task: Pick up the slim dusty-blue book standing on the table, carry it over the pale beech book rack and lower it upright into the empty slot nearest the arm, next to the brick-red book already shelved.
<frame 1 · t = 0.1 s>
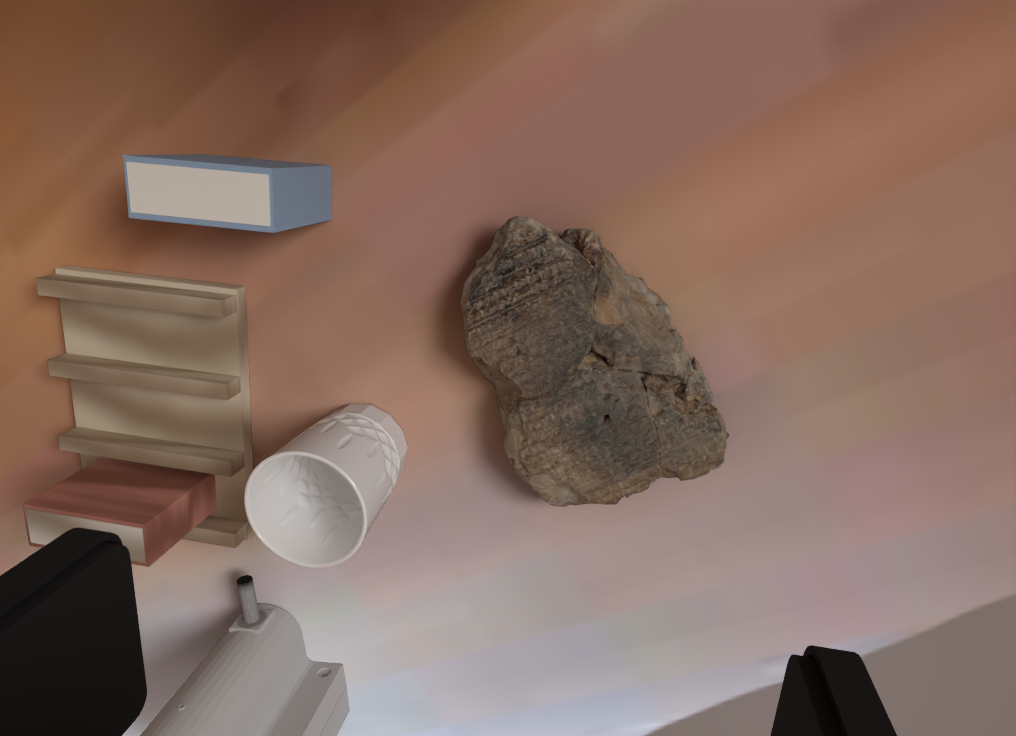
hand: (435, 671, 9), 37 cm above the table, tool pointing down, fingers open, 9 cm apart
grey machine model: (273, 634, 58), on the table
blue book: (268, 186, 46), on the table
white cup: (365, 443, 51), on the table
book rack: (165, 404, 53), on the table
clay tablet: (579, 351, 46), on the table
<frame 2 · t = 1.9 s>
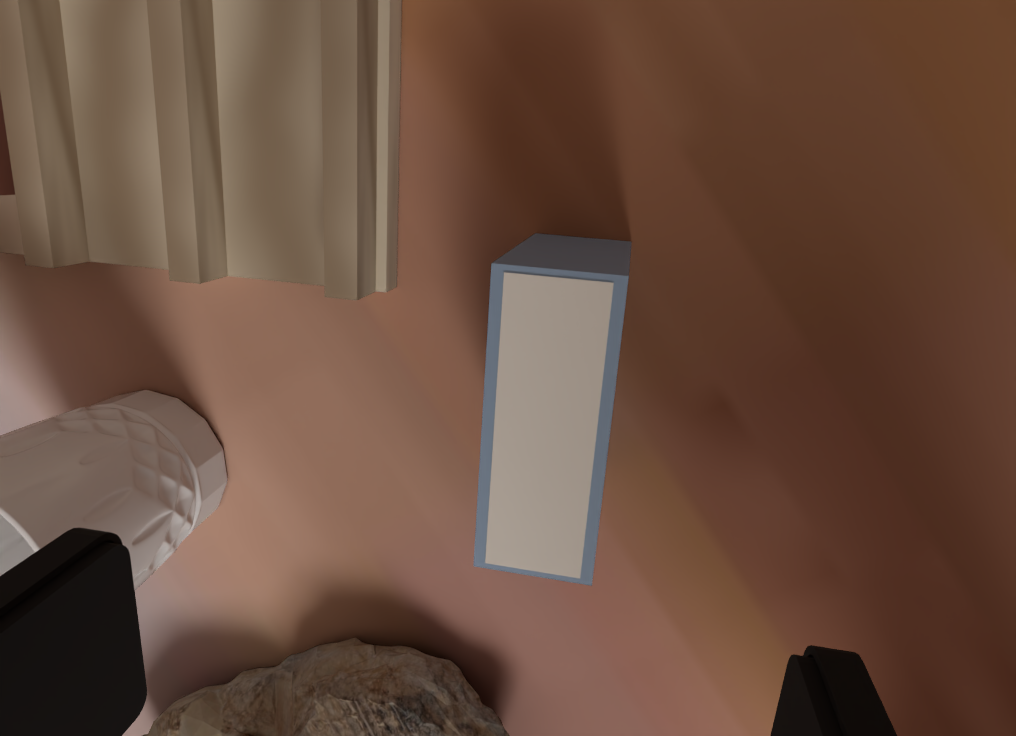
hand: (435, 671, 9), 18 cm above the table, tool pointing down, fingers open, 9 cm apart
blue book: (571, 355, 26), on the table
white cup: (163, 457, 31), on the table
book rack: (148, 79, 26), on the table
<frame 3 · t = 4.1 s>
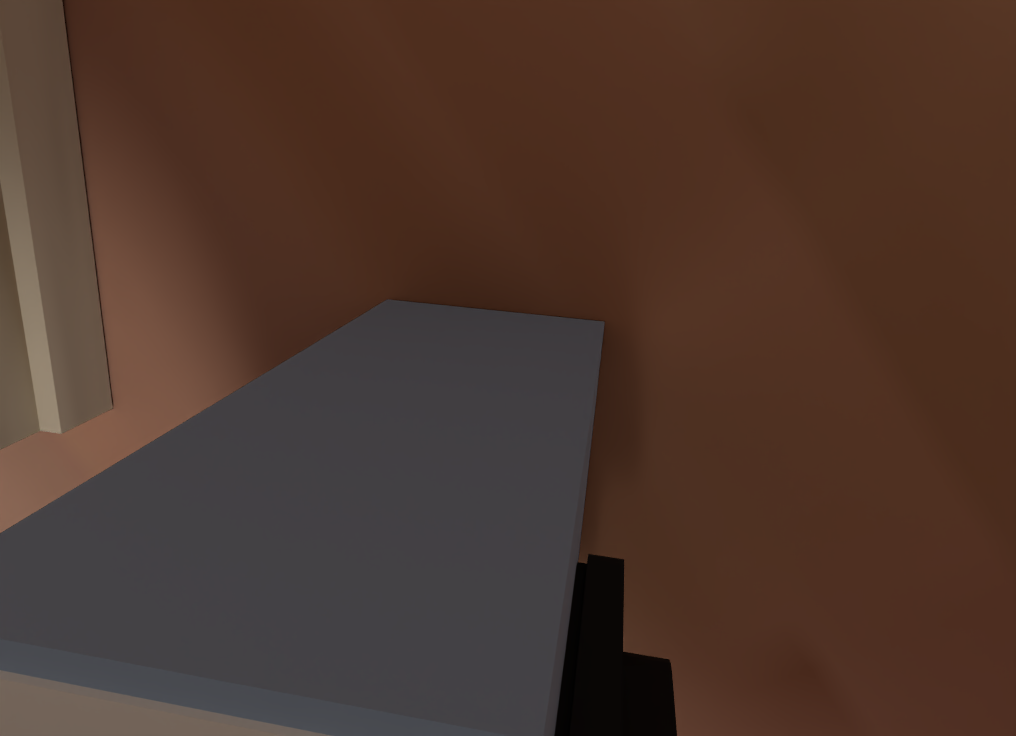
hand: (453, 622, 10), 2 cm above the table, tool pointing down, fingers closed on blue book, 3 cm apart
blue book: (479, 556, 12), on the table, touching gripper
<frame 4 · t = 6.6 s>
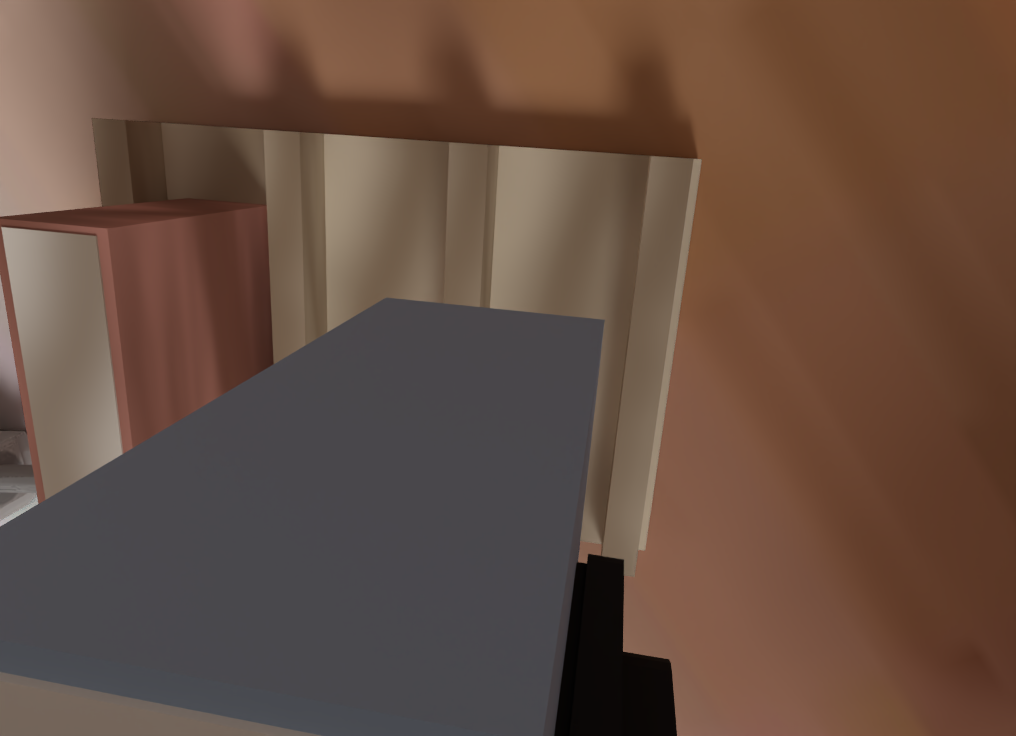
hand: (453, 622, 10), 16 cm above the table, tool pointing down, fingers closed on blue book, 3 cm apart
blue book: (478, 555, 12), point 14 cm above the table, touching gripper
book rack: (400, 333, 26), on the table
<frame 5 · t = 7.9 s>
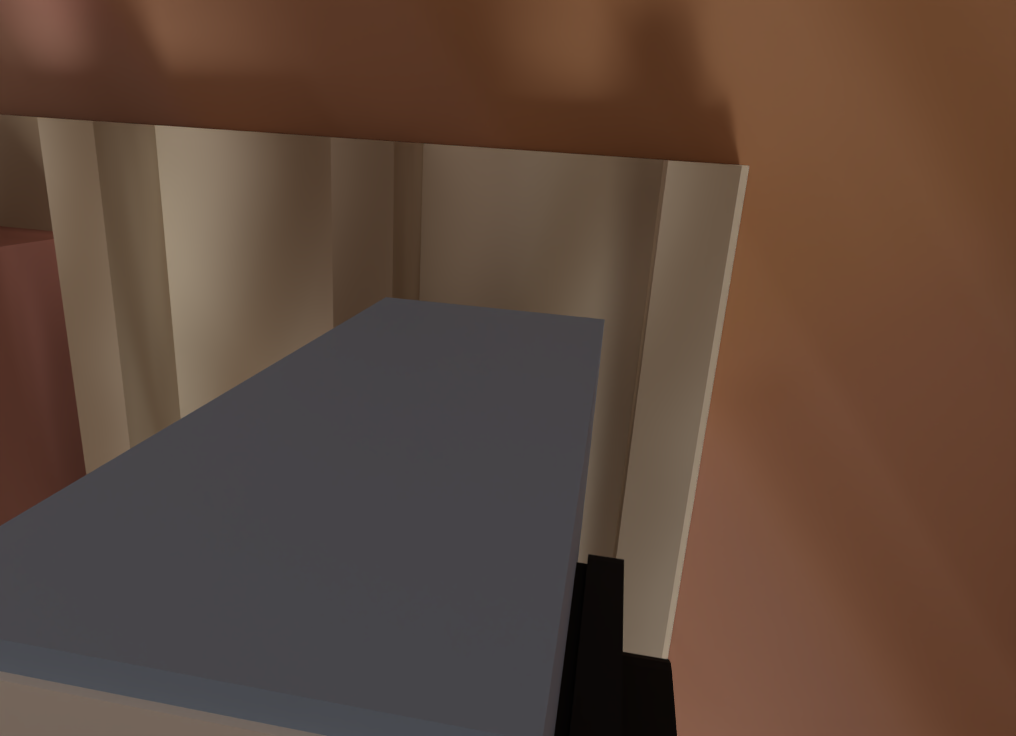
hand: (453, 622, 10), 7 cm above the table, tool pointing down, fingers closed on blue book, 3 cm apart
blue book: (478, 555, 12), point 5 cm above the table, touching gripper
book rack: (295, 419, 18), on the table
when the fingers open (4 cm above the table, at t = 9.2 s): blue book drops 1 cm, resting on book rack.
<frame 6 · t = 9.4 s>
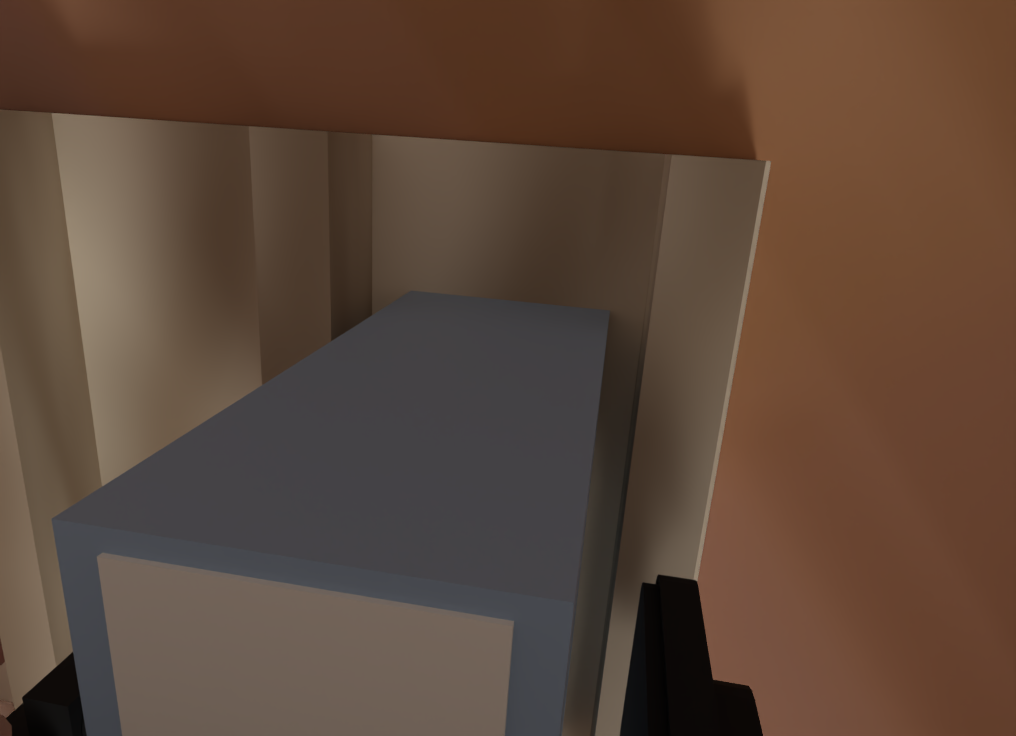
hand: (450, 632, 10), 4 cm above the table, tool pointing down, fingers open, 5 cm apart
blue book: (493, 527, 13), point 1 cm above the table, touching book rack
book rack: (235, 457, 15), on the table
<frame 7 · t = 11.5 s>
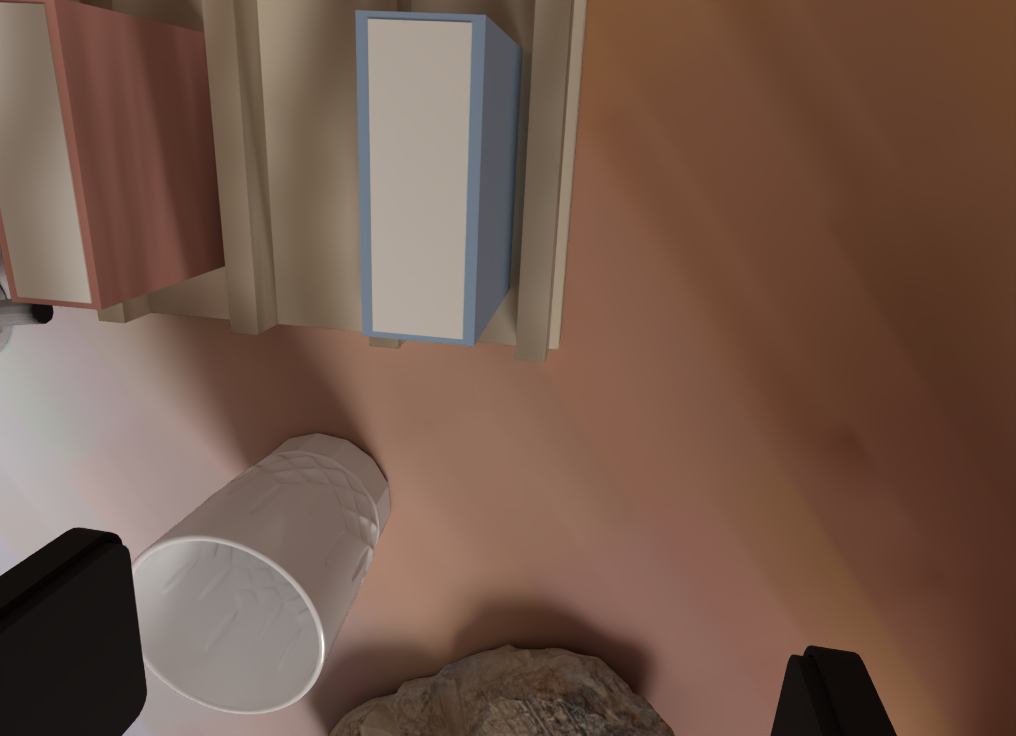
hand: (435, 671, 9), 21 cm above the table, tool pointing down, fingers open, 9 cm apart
blue book: (471, 173, 27), point 1 cm above the table, touching book rack
white cup: (328, 491, 34), on the table
book rack: (334, 160, 29), on the table
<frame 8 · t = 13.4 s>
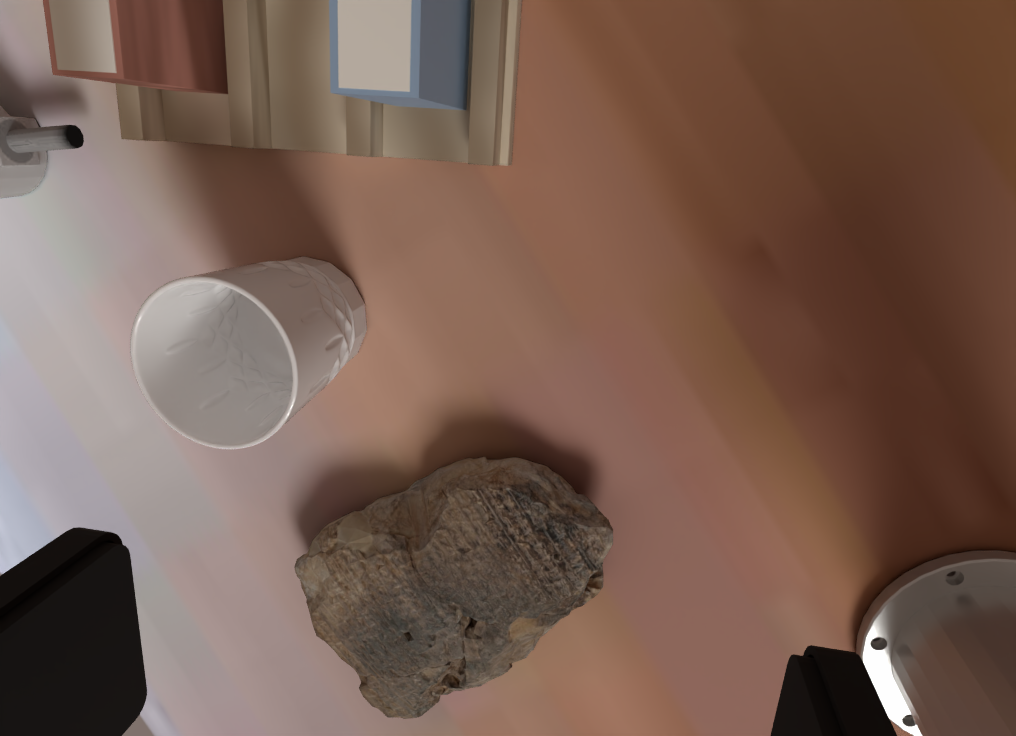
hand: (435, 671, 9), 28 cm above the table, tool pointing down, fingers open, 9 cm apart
grey machine model: (0, 146, 40), on the table
blue book: (434, 5, 32), point 1 cm above the table, touching book rack
white cup: (313, 314, 39), on the table
book rack: (322, 4, 34), on the table
clay tablet: (470, 559, 43), on the table
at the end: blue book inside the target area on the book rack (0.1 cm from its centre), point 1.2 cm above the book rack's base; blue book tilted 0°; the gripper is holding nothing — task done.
